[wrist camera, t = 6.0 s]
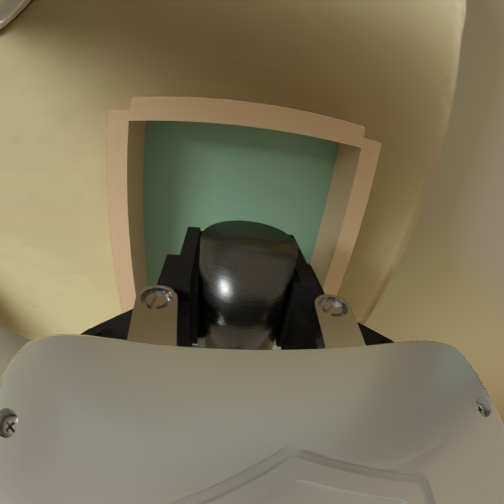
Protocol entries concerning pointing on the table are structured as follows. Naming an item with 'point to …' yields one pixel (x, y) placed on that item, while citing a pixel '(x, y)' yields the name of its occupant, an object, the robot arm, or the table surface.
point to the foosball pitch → (232, 181)
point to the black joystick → (243, 284)
